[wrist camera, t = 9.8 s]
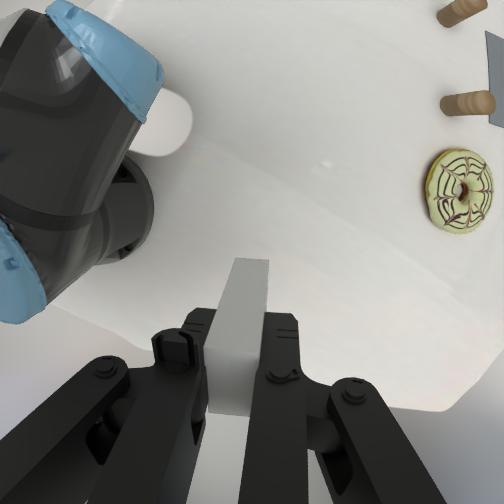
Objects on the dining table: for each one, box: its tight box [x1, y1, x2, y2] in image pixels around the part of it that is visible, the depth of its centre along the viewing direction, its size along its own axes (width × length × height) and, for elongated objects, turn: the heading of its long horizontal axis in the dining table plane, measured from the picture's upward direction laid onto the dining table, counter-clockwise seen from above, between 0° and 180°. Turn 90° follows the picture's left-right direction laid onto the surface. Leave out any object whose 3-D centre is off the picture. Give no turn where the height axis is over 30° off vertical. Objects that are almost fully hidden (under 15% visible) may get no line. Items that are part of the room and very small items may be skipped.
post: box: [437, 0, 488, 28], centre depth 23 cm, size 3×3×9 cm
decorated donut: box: [425, 149, 494, 234], centre depth 33 cm, size 10×11×4 cm
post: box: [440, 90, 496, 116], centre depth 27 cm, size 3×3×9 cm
